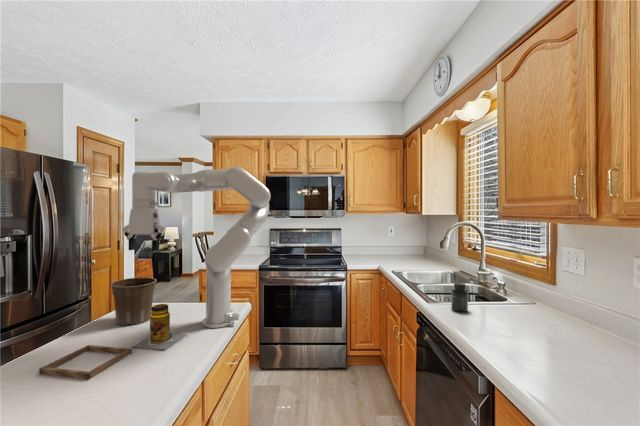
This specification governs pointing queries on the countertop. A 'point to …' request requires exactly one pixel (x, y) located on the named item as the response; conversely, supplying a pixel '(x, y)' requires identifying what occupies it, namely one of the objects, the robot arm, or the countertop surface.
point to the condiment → (159, 325)
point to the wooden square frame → (54, 371)
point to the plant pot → (133, 300)
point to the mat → (164, 346)
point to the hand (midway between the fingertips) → (143, 250)
